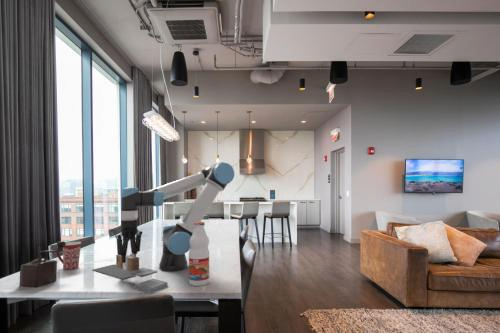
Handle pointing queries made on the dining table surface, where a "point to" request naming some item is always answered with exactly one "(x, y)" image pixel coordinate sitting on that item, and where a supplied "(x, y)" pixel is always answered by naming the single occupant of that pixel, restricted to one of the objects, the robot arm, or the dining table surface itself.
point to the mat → (114, 272)
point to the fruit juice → (199, 256)
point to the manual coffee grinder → (40, 269)
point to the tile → (151, 285)
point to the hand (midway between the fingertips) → (128, 268)
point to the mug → (70, 255)
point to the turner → (134, 266)
